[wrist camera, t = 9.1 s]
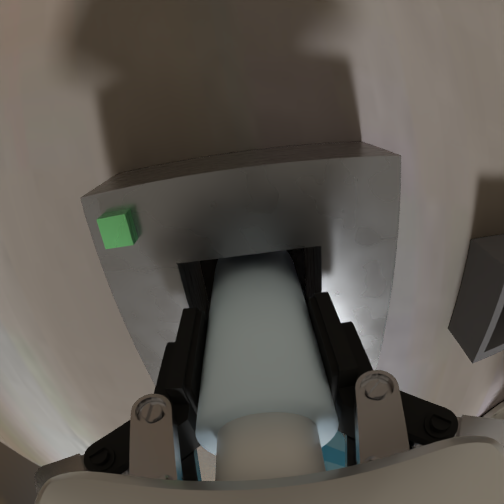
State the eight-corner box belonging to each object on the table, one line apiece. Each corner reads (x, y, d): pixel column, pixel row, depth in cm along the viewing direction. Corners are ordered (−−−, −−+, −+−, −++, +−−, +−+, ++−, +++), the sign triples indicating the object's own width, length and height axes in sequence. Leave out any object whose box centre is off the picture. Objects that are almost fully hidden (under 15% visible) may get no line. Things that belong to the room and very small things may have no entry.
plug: (292, 233, 14) (377, 499, 4) (296, 301, 16) (347, 530, 5) (208, 243, 15) (161, 517, 4) (222, 310, 16) (210, 542, 6)
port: (362, 141, 13) (408, 158, 9) (355, 333, 19) (377, 385, 15) (117, 173, 14) (73, 202, 10) (174, 354, 19) (162, 409, 15)
